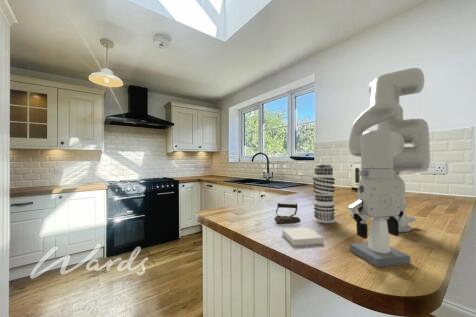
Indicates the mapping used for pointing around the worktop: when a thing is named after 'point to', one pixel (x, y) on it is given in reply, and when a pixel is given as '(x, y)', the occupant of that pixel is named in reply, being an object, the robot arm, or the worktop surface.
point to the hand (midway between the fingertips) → (377, 235)
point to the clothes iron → (286, 218)
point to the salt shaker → (379, 236)
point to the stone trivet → (302, 236)
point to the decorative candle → (324, 193)
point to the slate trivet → (379, 255)
